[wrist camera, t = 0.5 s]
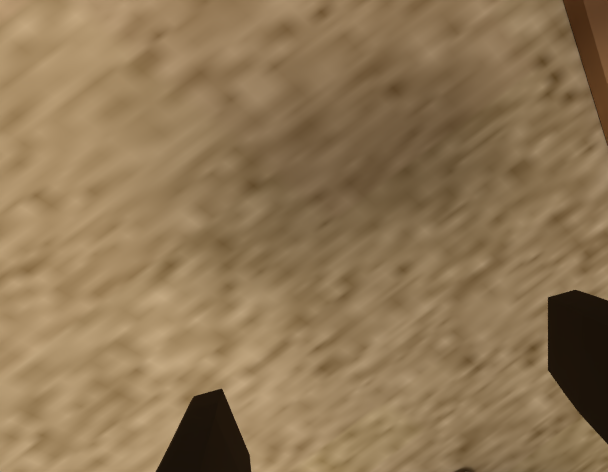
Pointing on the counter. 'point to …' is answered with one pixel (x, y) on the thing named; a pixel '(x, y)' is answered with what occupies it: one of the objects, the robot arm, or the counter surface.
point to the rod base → (593, 48)
